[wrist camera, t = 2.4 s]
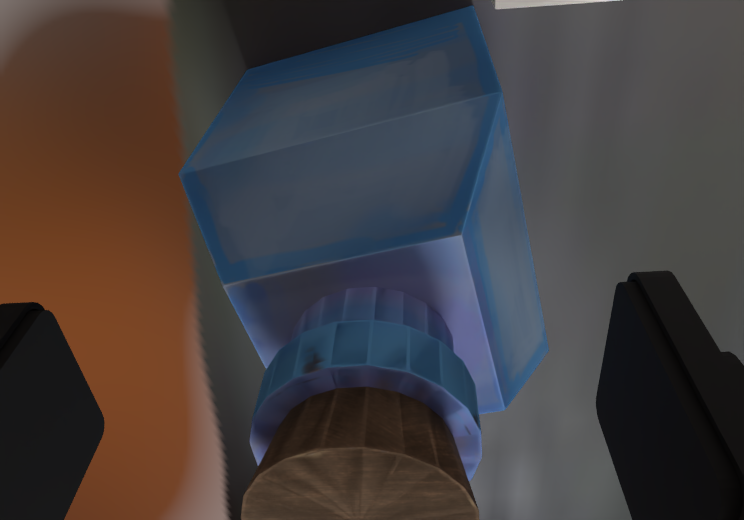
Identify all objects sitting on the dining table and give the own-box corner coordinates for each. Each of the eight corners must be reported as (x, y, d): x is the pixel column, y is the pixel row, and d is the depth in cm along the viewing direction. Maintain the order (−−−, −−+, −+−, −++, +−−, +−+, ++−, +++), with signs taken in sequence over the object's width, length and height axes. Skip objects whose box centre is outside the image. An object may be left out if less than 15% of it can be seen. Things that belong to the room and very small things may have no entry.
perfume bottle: (321, 252, 20) (237, 651, 11) (247, 69, 17) (25, 404, 7) (512, 211, 19) (618, 619, 9) (473, 4, 16) (573, 302, 6)
